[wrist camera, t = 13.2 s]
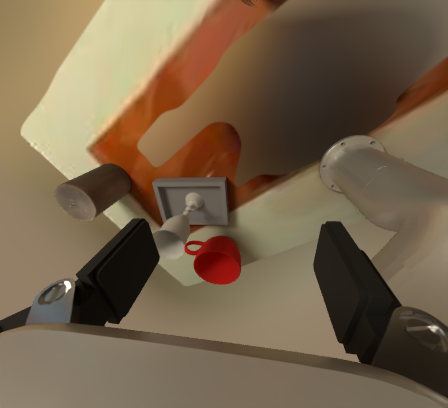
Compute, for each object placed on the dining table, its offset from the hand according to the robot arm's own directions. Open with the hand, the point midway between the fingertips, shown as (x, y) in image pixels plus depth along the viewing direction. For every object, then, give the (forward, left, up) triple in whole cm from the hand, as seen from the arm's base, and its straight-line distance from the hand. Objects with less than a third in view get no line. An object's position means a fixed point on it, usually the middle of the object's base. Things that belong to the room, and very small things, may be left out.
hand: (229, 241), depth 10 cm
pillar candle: (+38, +11, -36) cm, 54 cm away
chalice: (+15, +17, -35) cm, 42 cm away
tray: (+15, +17, -36) cm, 43 cm away
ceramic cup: (+10, +32, -36) cm, 49 cm away
